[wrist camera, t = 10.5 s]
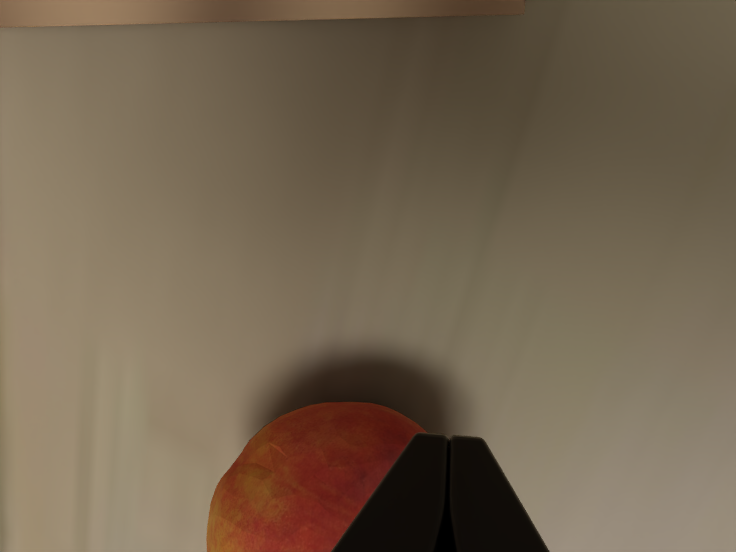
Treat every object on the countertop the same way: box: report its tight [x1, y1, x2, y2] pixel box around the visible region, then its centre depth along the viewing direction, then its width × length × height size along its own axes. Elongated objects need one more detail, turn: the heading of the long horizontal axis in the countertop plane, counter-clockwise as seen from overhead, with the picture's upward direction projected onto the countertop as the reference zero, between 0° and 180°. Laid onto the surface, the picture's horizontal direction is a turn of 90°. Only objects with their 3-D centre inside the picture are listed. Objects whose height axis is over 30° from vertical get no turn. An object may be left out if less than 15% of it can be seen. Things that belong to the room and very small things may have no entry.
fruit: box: [207, 402, 427, 552], centre depth 20 cm, size 8×8×8 cm
